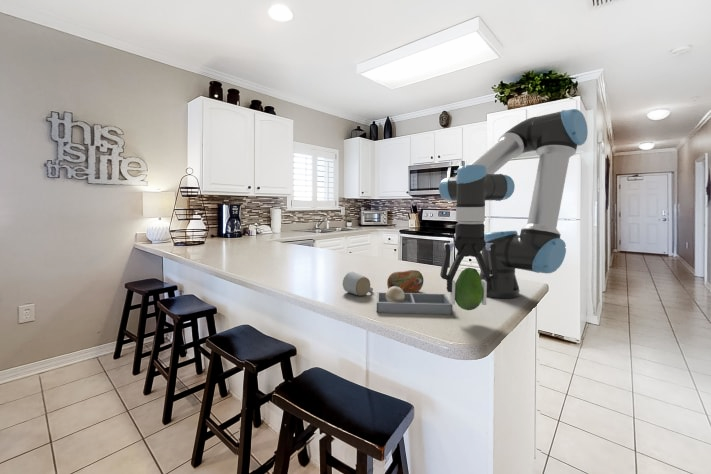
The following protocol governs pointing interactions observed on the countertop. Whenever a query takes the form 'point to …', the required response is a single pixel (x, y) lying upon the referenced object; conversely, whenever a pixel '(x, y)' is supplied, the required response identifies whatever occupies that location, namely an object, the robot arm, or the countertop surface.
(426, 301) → the grey divided tray
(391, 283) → the tin
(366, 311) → the countertop surface
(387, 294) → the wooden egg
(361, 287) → the ceramic mug
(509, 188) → the robot arm
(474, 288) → the avocado
